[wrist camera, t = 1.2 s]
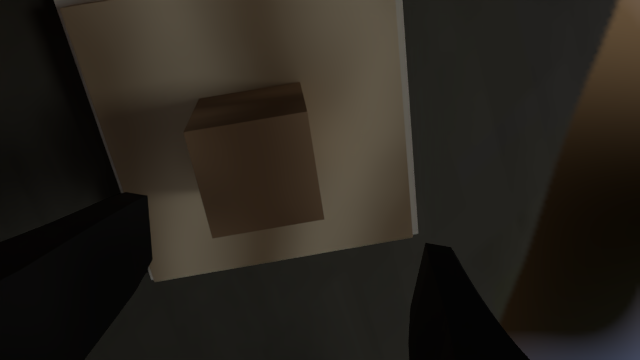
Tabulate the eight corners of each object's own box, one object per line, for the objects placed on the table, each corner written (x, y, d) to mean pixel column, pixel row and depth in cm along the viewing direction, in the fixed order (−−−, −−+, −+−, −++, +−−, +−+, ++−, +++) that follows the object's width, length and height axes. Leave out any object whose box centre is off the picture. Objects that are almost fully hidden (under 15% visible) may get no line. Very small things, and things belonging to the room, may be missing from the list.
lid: (158, 269, 24) (133, 344, 19) (69, 5, 19) (5, 23, 14) (407, 226, 24) (439, 290, 20) (386, -45, 19) (423, -44, 14)
